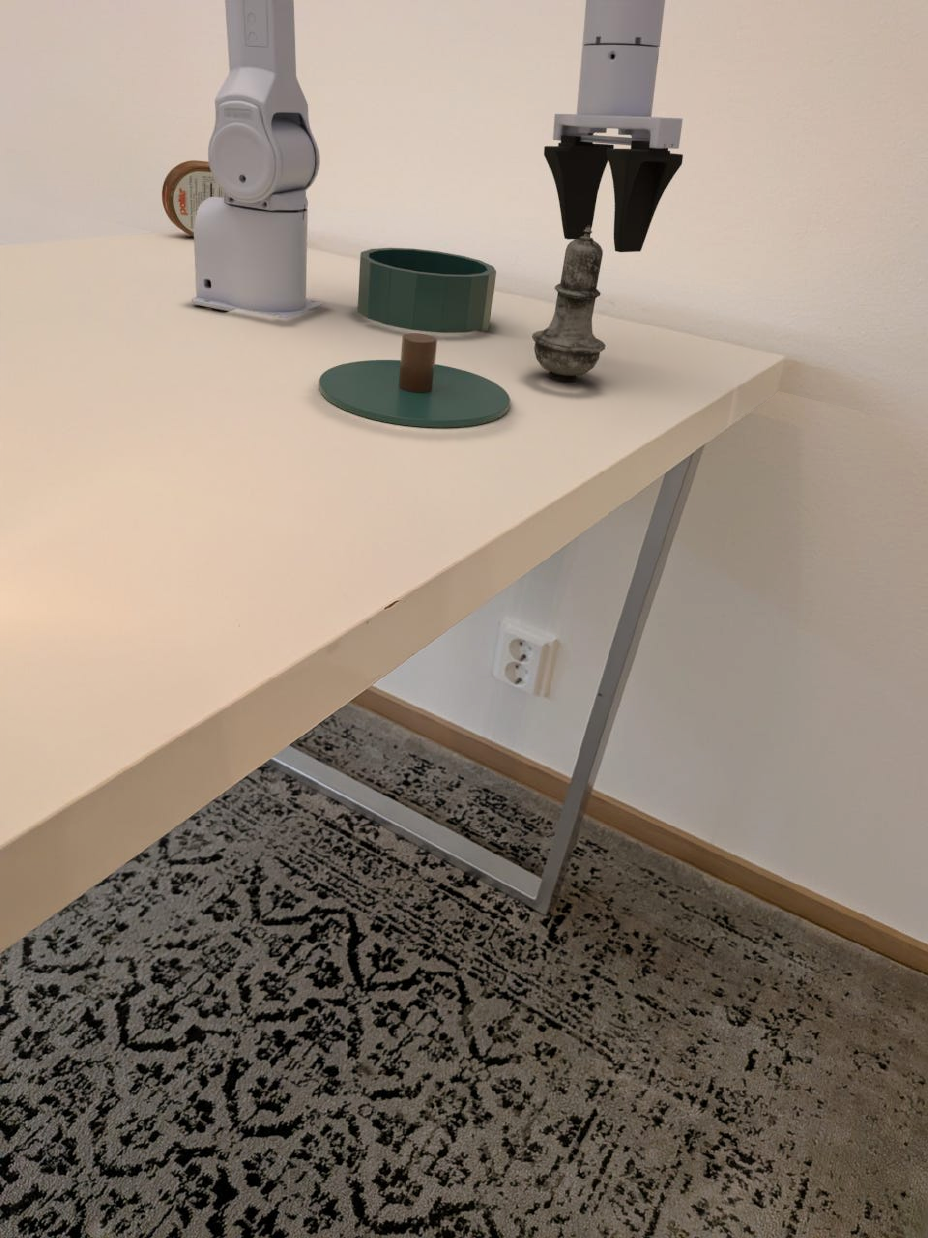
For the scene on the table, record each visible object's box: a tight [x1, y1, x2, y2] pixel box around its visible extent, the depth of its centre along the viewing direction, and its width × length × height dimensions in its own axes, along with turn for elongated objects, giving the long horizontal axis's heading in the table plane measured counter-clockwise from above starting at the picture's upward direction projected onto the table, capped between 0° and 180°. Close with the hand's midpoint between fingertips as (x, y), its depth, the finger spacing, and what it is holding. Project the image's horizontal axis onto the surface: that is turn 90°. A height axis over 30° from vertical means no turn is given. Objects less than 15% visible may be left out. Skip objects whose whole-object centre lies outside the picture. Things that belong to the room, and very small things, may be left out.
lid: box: [318, 332, 511, 429], centre depth 62 cm, size 14×14×5 cm
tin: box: [161, 159, 223, 237], centre depth 108 cm, size 15×3×8 cm, turn 119°
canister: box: [357, 247, 497, 334], centre depth 83 cm, size 13×13×5 cm
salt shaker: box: [531, 225, 606, 383], centre depth 68 cm, size 6×6×12 cm
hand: (601, 244), depth 72 cm, fingers open, 7 cm apart
